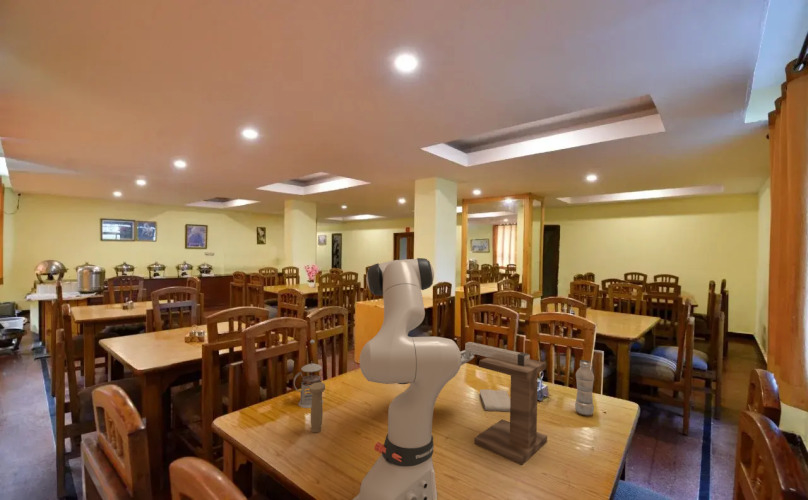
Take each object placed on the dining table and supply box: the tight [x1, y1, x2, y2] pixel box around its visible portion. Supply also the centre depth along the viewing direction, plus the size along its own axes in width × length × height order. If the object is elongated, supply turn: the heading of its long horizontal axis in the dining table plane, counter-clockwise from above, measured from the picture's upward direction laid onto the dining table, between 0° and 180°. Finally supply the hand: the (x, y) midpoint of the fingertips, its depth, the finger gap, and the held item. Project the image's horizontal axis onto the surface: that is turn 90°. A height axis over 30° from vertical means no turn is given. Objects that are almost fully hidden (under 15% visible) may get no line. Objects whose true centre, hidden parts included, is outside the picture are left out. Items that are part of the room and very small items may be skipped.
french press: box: [293, 339, 324, 409], centre depth 141 cm, size 10×12×25 cm
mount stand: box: [473, 357, 548, 466], centre depth 114 cm, size 18×16×26 cm
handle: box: [308, 382, 326, 434], centre depth 120 cm, size 5×6×15 cm
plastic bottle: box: [574, 359, 595, 416], centre depth 137 cm, size 6×7×20 cm
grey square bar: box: [464, 341, 531, 366], centre depth 119 cm, size 3×22×3 cm, turn 46°
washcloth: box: [479, 388, 510, 413], centre depth 146 cm, size 12×18×3 cm, turn 176°
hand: (467, 353), depth 126 cm, fingers open, 8 cm apart
